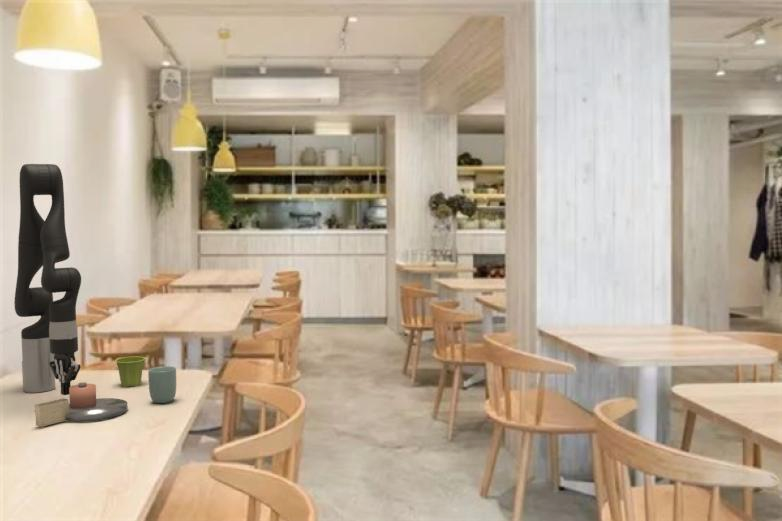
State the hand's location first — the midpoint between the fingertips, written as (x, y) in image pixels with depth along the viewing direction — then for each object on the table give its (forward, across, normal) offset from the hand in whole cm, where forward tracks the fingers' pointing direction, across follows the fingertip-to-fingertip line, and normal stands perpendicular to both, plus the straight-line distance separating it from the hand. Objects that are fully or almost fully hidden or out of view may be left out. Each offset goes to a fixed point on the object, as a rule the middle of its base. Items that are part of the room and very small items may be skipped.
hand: (66, 394), depth 206 cm
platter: (+3, +14, -3) cm, 14 cm away
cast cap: (+2, +9, 0) cm, 9 cm away
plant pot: (+4, -7, +27) cm, 28 cm away
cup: (+4, +20, +19) cm, 28 cm away
